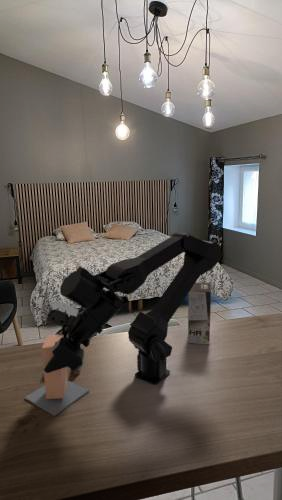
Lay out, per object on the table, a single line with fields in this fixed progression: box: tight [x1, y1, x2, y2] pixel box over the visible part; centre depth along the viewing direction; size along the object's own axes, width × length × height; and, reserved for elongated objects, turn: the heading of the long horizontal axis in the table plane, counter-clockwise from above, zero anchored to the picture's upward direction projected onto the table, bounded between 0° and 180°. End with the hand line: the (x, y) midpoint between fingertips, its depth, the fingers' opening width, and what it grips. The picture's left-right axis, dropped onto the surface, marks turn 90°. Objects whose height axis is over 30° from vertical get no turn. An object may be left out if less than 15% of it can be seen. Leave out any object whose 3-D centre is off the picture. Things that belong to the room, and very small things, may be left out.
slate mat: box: [24, 379, 90, 417], centre depth 78 cm, size 10×10×1 cm
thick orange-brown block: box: [41, 334, 68, 399], centre depth 77 cm, size 4×6×12 cm, turn 3°
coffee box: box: [187, 282, 212, 345], centre depth 104 cm, size 9×6×16 cm
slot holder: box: [73, 345, 84, 375], centre depth 90 cm, size 8×9×3 cm
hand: (48, 363), depth 77 cm, fingers closed on thick orange-brown block, 6 cm apart
